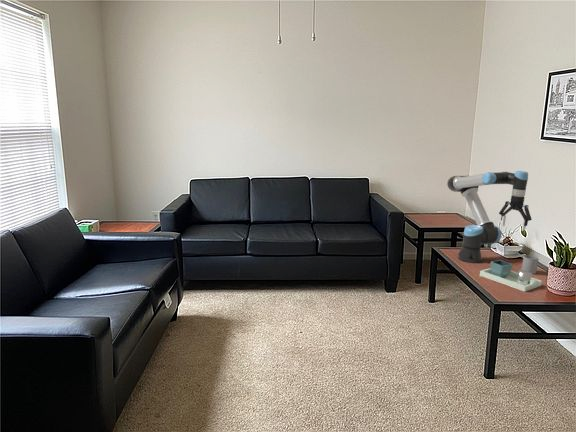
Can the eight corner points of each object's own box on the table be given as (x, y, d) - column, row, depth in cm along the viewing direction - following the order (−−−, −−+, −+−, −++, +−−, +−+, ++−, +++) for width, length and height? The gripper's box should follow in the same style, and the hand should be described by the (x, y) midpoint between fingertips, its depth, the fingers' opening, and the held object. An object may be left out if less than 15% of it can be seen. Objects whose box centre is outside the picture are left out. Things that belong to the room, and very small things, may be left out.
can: (513, 284, 257) (515, 271, 256) (520, 281, 261) (522, 269, 259) (525, 288, 252) (527, 275, 250) (531, 285, 256) (534, 273, 254)
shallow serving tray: (479, 276, 270) (480, 270, 269) (496, 272, 279) (497, 266, 278) (524, 293, 247) (525, 286, 246) (540, 287, 257) (542, 280, 256)
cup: (537, 274, 277) (540, 259, 275) (523, 273, 279) (526, 258, 277) (533, 270, 285) (535, 255, 283) (519, 269, 287) (522, 254, 285)
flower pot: (488, 275, 270) (490, 261, 268) (498, 273, 274) (500, 259, 272) (500, 280, 263) (502, 266, 261) (510, 278, 266) (512, 264, 264)
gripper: (496, 192, 286) (491, 224, 291) (534, 199, 266) (528, 233, 271) (502, 191, 290) (498, 223, 295) (541, 198, 270) (535, 232, 275)
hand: (512, 228), depth 283 cm, fingers open, 13 cm apart
